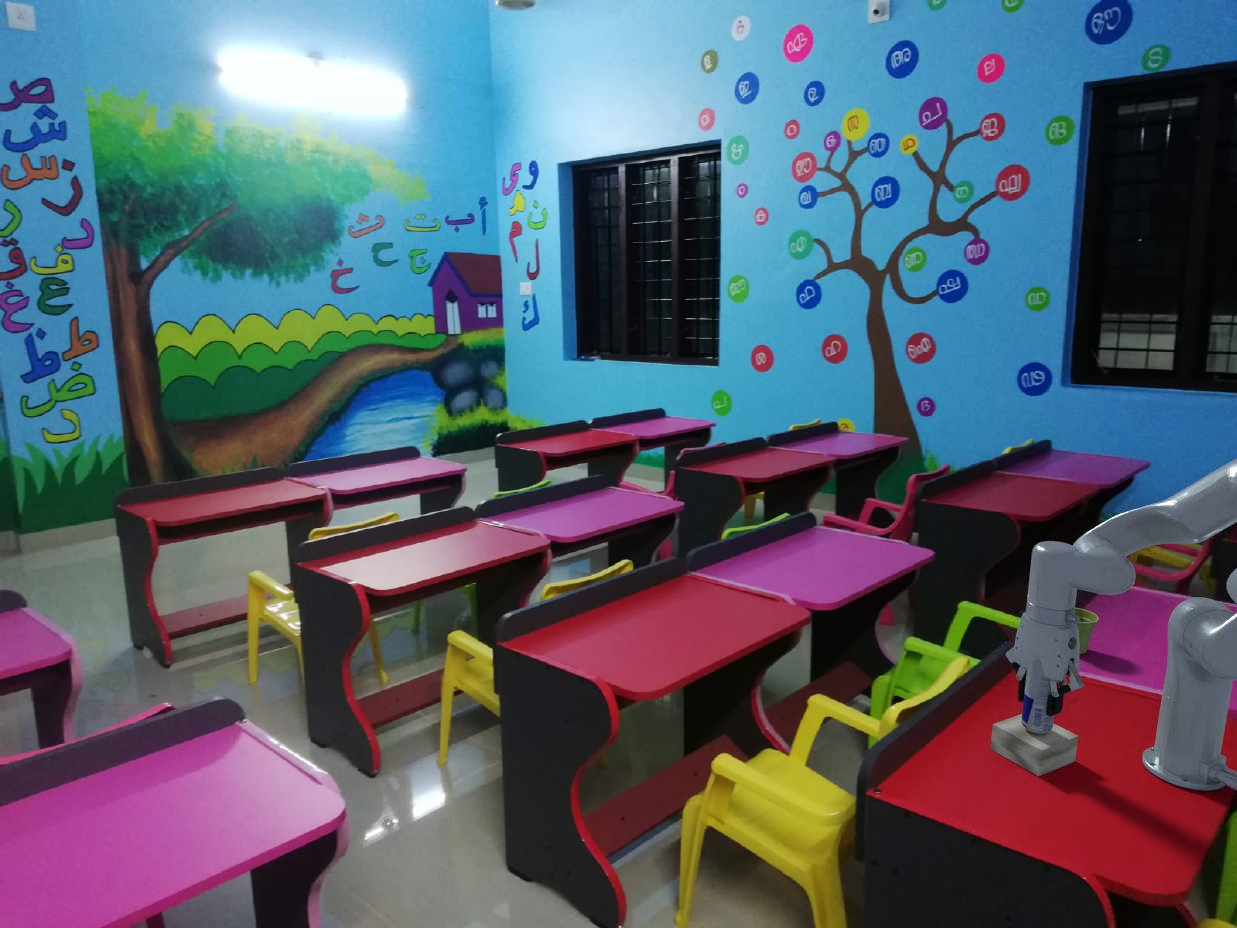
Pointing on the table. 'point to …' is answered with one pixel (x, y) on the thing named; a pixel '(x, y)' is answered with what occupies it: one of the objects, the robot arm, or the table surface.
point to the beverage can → (1036, 699)
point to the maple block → (1033, 746)
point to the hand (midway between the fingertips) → (1039, 705)
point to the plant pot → (1085, 627)
